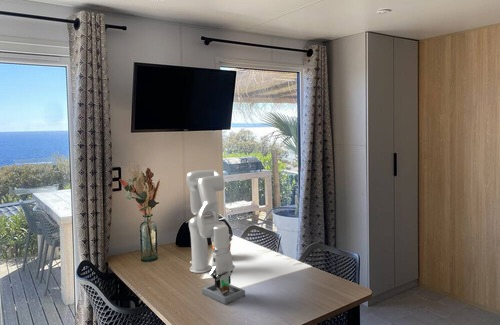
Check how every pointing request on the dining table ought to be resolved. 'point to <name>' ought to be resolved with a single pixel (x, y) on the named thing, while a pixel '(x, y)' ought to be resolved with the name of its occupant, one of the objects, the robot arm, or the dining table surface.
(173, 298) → the dining table surface
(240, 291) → the tray
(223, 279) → the food container
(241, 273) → the dining table surface
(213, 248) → the reusable coffee cup
